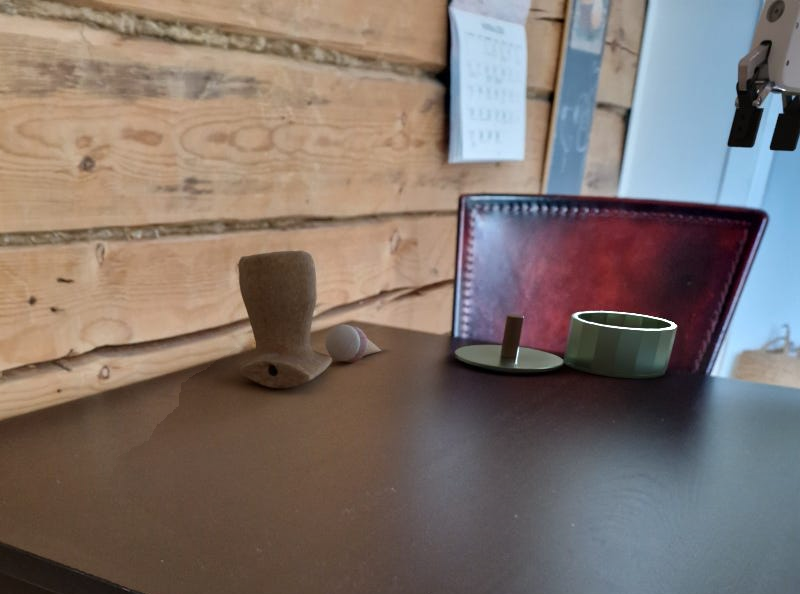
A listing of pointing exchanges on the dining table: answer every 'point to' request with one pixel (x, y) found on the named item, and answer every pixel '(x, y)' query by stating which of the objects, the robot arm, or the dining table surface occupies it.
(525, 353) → the lid
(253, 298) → the brown flared upright piece
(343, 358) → the ice cream cone
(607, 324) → the pan
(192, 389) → the dining table surface
